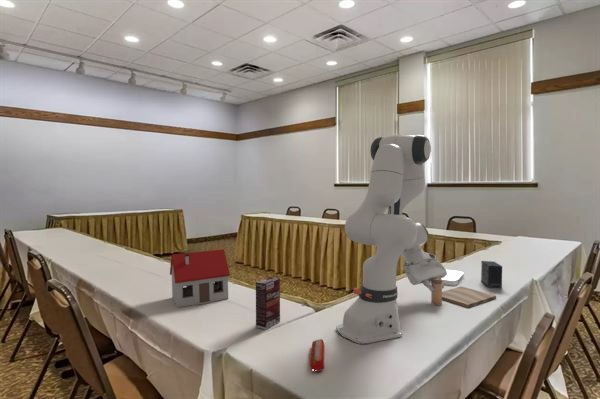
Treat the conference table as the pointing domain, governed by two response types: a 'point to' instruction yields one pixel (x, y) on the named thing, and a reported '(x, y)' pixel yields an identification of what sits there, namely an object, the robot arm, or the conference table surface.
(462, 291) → the board
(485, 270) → the small box
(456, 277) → the computer
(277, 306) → the supplement box
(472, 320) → the conference table surface
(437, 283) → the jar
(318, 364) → the candy bar
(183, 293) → the house model
